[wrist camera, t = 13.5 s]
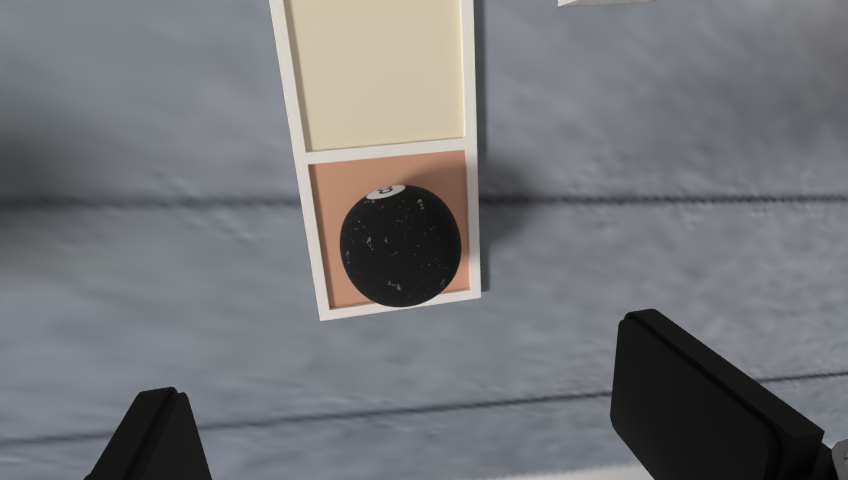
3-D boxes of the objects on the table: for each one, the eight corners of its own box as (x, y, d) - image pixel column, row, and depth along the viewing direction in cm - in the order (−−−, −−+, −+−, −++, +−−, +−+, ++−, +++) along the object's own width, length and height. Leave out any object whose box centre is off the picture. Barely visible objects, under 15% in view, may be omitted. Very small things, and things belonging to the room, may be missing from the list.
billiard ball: (357, 289, 27) (363, 345, 21) (325, 192, 25) (322, 225, 19) (455, 260, 27) (486, 306, 22) (432, 161, 25) (460, 185, 20)
